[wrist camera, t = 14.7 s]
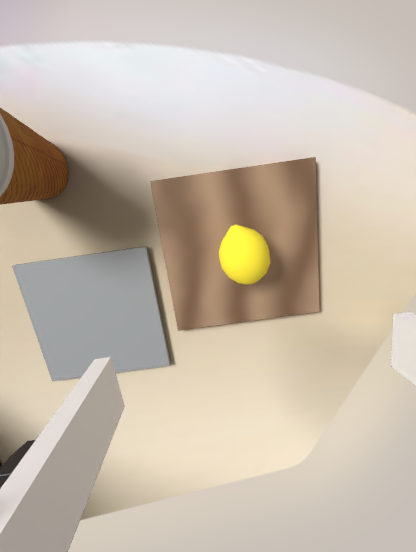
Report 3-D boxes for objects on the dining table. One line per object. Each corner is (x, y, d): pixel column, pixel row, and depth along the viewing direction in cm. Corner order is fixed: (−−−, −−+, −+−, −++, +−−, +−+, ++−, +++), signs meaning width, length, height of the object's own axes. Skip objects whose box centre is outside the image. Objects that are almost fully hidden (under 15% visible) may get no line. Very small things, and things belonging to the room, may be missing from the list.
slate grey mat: (55, 377, 34) (52, 381, 33) (17, 264, 30) (12, 265, 29) (170, 362, 33) (169, 365, 33) (147, 246, 29) (145, 247, 29)
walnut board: (178, 327, 32) (178, 330, 31) (152, 182, 28) (150, 181, 27) (316, 308, 32) (319, 311, 31) (311, 159, 27) (315, 157, 26)
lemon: (268, 267, 30) (284, 285, 25) (226, 281, 30) (233, 302, 25) (253, 211, 27) (267, 219, 22) (207, 228, 28) (211, 240, 23)
